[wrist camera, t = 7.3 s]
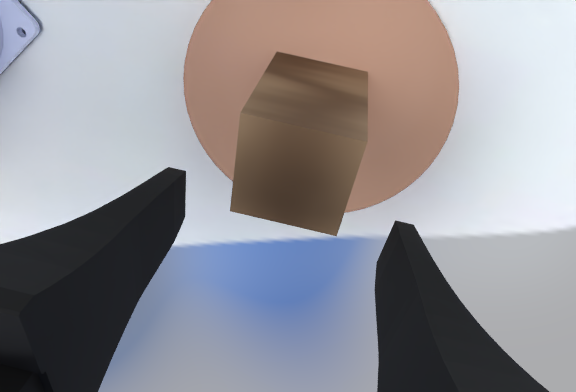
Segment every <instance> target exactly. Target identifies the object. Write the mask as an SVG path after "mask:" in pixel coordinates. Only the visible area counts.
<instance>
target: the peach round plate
mask: <svg viewBox="0 0 576 392" xmlns="http://www.w3.org/2000/svg"><path fill="white" fill-rule="evenodd" d="M276 52H282V53H286V54H291V55H295V56H300V57H304V58H309V59H313V60H318V61H322V62H327V63H331V64H336V65H340V66H344V67H349V68H353V69H358V70H362V71H367V72H368V142H367V145H366V148H365V151H364V154H363V157H362V160H361V163H360V167H359V170H358V173H357V176H356V179H355V182H354V185H353V188H352V191H351V194H350V197H349V200H348V203H347V206H346V209H345V212H351V211H355V210H360V209H364V208H367V207H370V206H373V205H375V204H378V203H380V202H382V201H384V200H387V199H389V198H391V197H393V196H394V195H396V194H397V193H399V192H401V191H402V190H404V189H405V188H407V187H408V186H409V185H410V184H411V183H413V182H414V181H415V180H416V179H418V178H419V177H420V176H421V175H422V173H423V172H424V171H425V170H426V169H427V168H428V167H429V166H430V165H431V163H432V162H433V161H434V159H435V158H436V157H437V155H438V154H439V152H440V150H441V149H442V147H443V145H444V143H445V141H446V140H447V137H448V135H449V132H450V130H451V127H452V125H453V122H454V117H455V113H456V109H457V104H458V92H459V80H458V67H457V62H456V58H455V53H454V49H453V46H452V44H451V41H450V38H449V36H448V33H447V31H446V29H445V27H444V25H443V23H442V22H441V20H440V18H439V16H438V15H437V13H436V11H435V9H434V8H433V7H432V6H431V4H430V3H429V2H428V0H212V1H211V2H210V4H209V5H208V6H207V8H206V9H205V10H204V12H203V13H202V15H201V17H200V19H199V21H198V23H197V24H196V26H195V28H194V31H193V34H192V36H191V39H190V42H189V44H188V49H187V54H186V58H185V65H184V95H185V101H186V106H187V111H188V114H189V117H190V121H191V124H192V126H193V129H194V131H195V133H196V135H197V137H198V140H199V141H200V143H201V145H202V146H203V148H204V150H205V151H206V153H207V154H208V155H209V157H210V158H211V159H212V161H213V162H214V163H215V165H216V166H217V167H218V168H219V169H220V170H221V171H222V172H223V173H224V174H225V175H226V176H227V177H228V178H229V179H231V180H232V181H233V178H234V168H235V159H236V149H237V139H238V130H239V120H240V112H241V111H242V109H243V107H244V106H245V104H246V102H247V101H248V99H249V97H250V96H251V94H252V92H253V91H254V89H255V87H256V85H257V84H258V82H259V80H260V79H261V77H262V75H263V74H264V72H265V70H266V69H267V67H268V65H269V64H270V62H271V60H272V59H273V57H274V55H275V54H276ZM345 212H344V213H345Z"/></svg>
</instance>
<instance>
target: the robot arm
mask: <svg viewBox="0 0 576 392" xmlns="http://www.w3.org/2000/svg"><path fill="white" fill-rule="evenodd" d="M21 28H22V29H24V30H25V32H26V35H25V34H24V33H23V32H22V29H21ZM39 32H40V27H39V24H38V22H37V21H36V20H35V19H34V18H33V16H32V15H31V14H30V13H29V12H28V11H27V10H26V9H25V8H24V7H23V6H22V5H21V4H20V2H19V1H18V0H0V74H1V73H2V72H3V71H4V70H5V69H6V68H7V67H8V65H9V64H10V63H11V62H12V61H13V60H14V59H15V58H16V57H17V56H18V55H19V54H20V53H21V52H22V51H23V50H24V48H25V47H26V46H27V45H28V44H29V43H30V42H31V41H32V40H33V39H34V38H35V37H36V36H37V35H38V34H39ZM185 192H186V171H183V170H179V169H174V168H170V167H168V168H166V169H165V170H163V171H161V172H160V173H158V174H156V175H155V176H153V177H152V178H150V179H148V180H147V181H145V182H144V183H142V184H141V185H139V186H137V187H136V188H134V189H132V190H131V191H129V192H127V193H126V194H124V195H122V196H121V197H119V198H117V199H115V200H113V201H111V202H109V203H108V204H106V205H104V206H102V207H100V208H98V209H96V210H94V211H92V212H90V213H88V214H86V215H84V216H81V217H79V218H77V219H74V220H72V221H70V222H67V223H65V224H62V225H60V226H57V227H54V228H51V229H48V230H45V231H43V232H40V233H37V234H34V235H31V236H28V237H25V238H21V239H18V240H14V241H11V242H7V243H3V244H0V392H98V390H99V388H100V385H101V383H102V380H103V378H104V376H105V373H106V371H107V369H108V366H109V364H110V361H111V359H112V357H113V354H114V352H115V350H116V348H117V345H118V343H119V341H120V339H121V337H122V334H123V332H124V330H125V328H126V326H127V323H128V321H129V319H130V317H131V315H132V313H133V311H134V309H135V307H136V305H137V302H138V301H139V299H140V297H141V295H142V294H143V292H144V290H145V288H146V287H147V285H148V284H149V282H150V280H151V279H152V277H153V275H154V274H155V272H156V271H157V269H158V267H159V266H160V264H161V263H162V261H163V259H164V258H165V256H166V254H167V252H168V251H169V249H170V248H171V246H172V244H173V243H174V241H175V239H176V237H177V234H178V232H179V230H180V228H181V225H182V223H183V220H184V218H185ZM375 302H376V316H377V317H376V318H377V334H378V351H379V368H378V391H377V392H549V391H548V390H547V389H545V388H544V387H543V386H542V385H541V384H539V383H538V382H537V381H536V380H534V378H532V377H531V376H530V375H529V374H528V373H527V372H526V371H525V370H524V369H523V368H521V367H520V366H519V365H518V364H517V363H516V362H515V361H514V360H513V359H512V358H511V357H510V356H509V355H508V354H507V353H506V352H505V351H503V349H502V348H501V347H500V346H499V345H498V344H497V343H496V342H495V341H494V340H493V339H492V338H491V337H490V336H489V335H488V333H487V332H486V331H485V330H484V329H483V328H482V327H481V326H480V324H479V323H478V322H477V321H476V320H475V318H474V317H473V316H472V315H471V313H470V312H469V311H468V310H467V309H466V307H465V306H464V305H463V303H462V302H461V301H460V300H459V298H458V297H457V295H456V294H455V293H454V291H453V290H452V289H451V287H450V285H449V284H448V282H447V281H446V280H445V278H444V276H443V275H442V273H441V272H440V270H439V268H438V267H437V265H436V263H435V262H434V260H433V259H432V257H431V255H430V253H429V252H428V250H427V248H426V246H425V244H424V243H423V241H422V239H421V237H420V235H419V234H418V232H417V230H416V228H415V227H414V225H412V224H408V223H404V222H399V221H395V223H394V225H393V227H392V229H391V232H390V234H389V236H388V238H387V241H386V243H385V245H384V247H383V250H382V252H381V254H380V256H379V259H378V261H377V267H376V279H375Z"/></svg>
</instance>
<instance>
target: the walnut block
mask: <svg viewBox="0 0 576 392" xmlns="http://www.w3.org/2000/svg"><path fill="white" fill-rule="evenodd" d="M367 142H368V72H367V71H362V70H358V69H353V68H349V67H344V66H340V65H336V64H331V63H327V62H322V61H318V60H313V59H309V58H304V57H300V56H295V55H291V54H286V53H282V52H276V54H275V55H274V57H273V59H272V60H271V62H270V64H269V65H268V67H267V69H266V70H265V72H264V74H263V75H262V77H261V79H260V80H259V82H258V84H257V85H256V87H255V89H254V91H253V92H252V94H251V96H250V97H249V99H248V101H247V102H246V104H245V106H244V107H243V109H242V111H241V112H240V120H239V130H238V139H237V149H236V159H235V168H234V178H233V188H232V197H231V207H230V211H232V212H236V213H241V214H245V215H249V216H253V217H258V218H262V219H266V220H270V221H275V222H279V223H283V224H287V225H292V226H296V227H300V228H304V229H309V230H313V231H317V232H321V233H326V234H330V235H334V236H337V233H338V230H339V227H340V224H341V221H342V218H343V215H344V212H345V209H346V206H347V203H348V200H349V197H350V194H351V191H352V188H353V185H354V182H355V179H356V176H357V173H358V170H359V167H360V163H361V160H362V157H363V154H364V151H365V148H366V145H367Z"/></svg>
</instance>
